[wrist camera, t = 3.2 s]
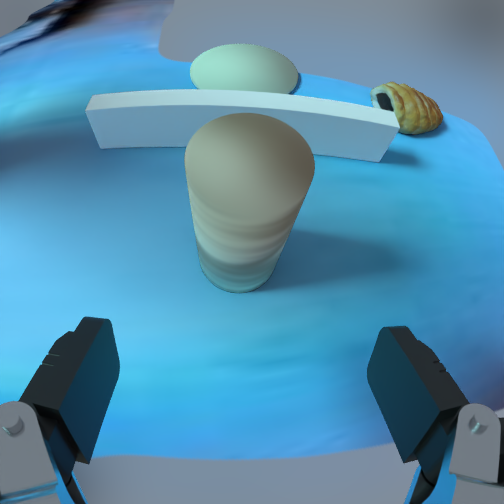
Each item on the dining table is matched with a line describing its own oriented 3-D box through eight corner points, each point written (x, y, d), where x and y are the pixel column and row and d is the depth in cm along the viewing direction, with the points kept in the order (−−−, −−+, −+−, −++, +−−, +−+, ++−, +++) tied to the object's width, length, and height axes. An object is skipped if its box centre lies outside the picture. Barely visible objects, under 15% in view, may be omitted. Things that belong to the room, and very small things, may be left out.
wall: (100, 148, 26) (84, 110, 21) (106, 133, 27) (92, 95, 22) (378, 162, 28) (400, 127, 23) (374, 146, 29) (394, 112, 24)
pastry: (421, 100, 34) (433, 80, 30) (447, 139, 31) (462, 119, 28) (363, 96, 32) (373, 72, 29) (389, 138, 30) (403, 114, 26)
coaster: (242, 120, 28) (242, 117, 28) (169, 70, 31) (168, 67, 31) (318, 79, 32) (319, 76, 32) (245, 37, 35) (245, 35, 35)
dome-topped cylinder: (236, 309, 22) (249, 240, 12) (183, 253, 23) (158, 153, 13) (291, 257, 23) (339, 164, 13) (238, 208, 25) (250, 98, 15)
